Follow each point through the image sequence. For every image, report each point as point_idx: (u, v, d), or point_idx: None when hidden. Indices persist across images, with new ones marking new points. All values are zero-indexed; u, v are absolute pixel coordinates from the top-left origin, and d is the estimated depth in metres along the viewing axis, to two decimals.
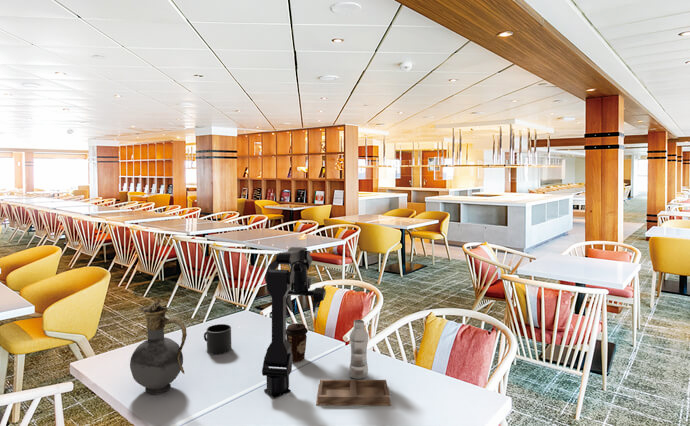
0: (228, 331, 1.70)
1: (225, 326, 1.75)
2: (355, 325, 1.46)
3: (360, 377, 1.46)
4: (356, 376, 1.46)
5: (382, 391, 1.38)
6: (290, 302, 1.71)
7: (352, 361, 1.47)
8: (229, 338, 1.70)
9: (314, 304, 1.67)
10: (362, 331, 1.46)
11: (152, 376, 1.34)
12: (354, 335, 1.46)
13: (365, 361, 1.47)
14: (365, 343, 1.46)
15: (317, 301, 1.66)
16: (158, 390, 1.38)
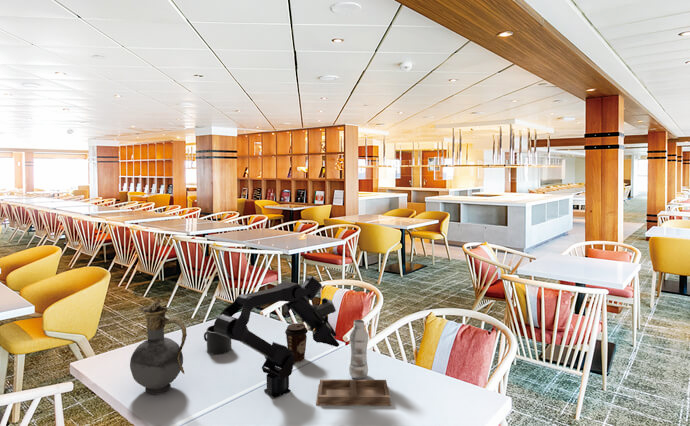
0: None
1: None
2: (355, 325, 1.46)
3: (360, 377, 1.46)
4: (356, 376, 1.46)
5: (382, 391, 1.38)
6: None
7: (352, 361, 1.47)
8: (229, 338, 1.70)
9: None
10: (362, 331, 1.46)
11: (152, 376, 1.34)
12: (354, 335, 1.46)
13: (365, 361, 1.47)
14: (365, 343, 1.46)
15: None
16: (158, 390, 1.38)
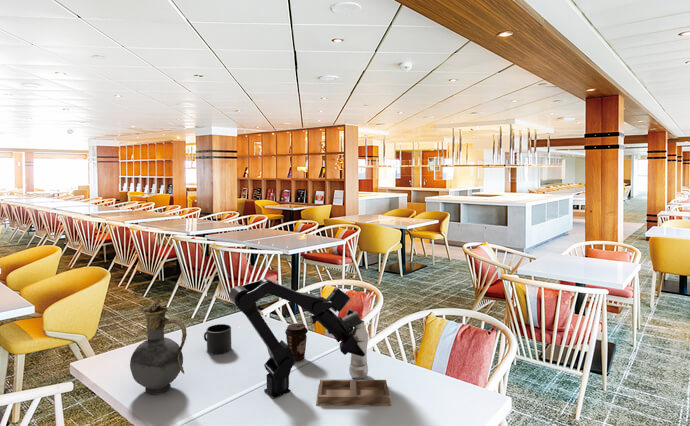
0: (228, 331, 1.70)
1: (225, 326, 1.75)
2: None
3: (360, 377, 1.46)
4: (356, 376, 1.46)
5: (382, 391, 1.38)
6: None
7: (352, 361, 1.47)
8: (229, 338, 1.70)
9: None
10: (362, 331, 1.46)
11: (152, 376, 1.34)
12: (354, 334, 1.46)
13: (365, 361, 1.47)
14: (365, 343, 1.46)
15: None
16: (158, 390, 1.38)
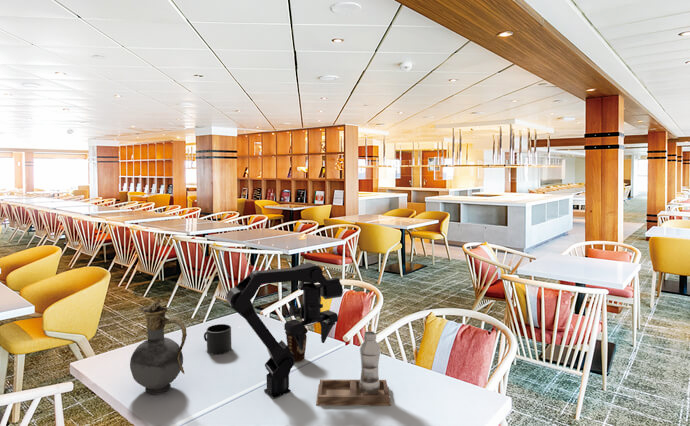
0: (228, 331, 1.70)
1: (225, 326, 1.75)
2: (365, 337, 1.34)
3: (371, 394, 1.34)
4: (367, 393, 1.34)
5: (382, 391, 1.38)
6: None
7: (363, 376, 1.35)
8: (229, 338, 1.70)
9: (329, 329, 1.45)
10: (374, 344, 1.34)
11: (152, 376, 1.34)
12: (364, 348, 1.34)
13: (377, 376, 1.35)
14: (377, 357, 1.34)
15: (333, 323, 1.45)
16: (158, 390, 1.38)
